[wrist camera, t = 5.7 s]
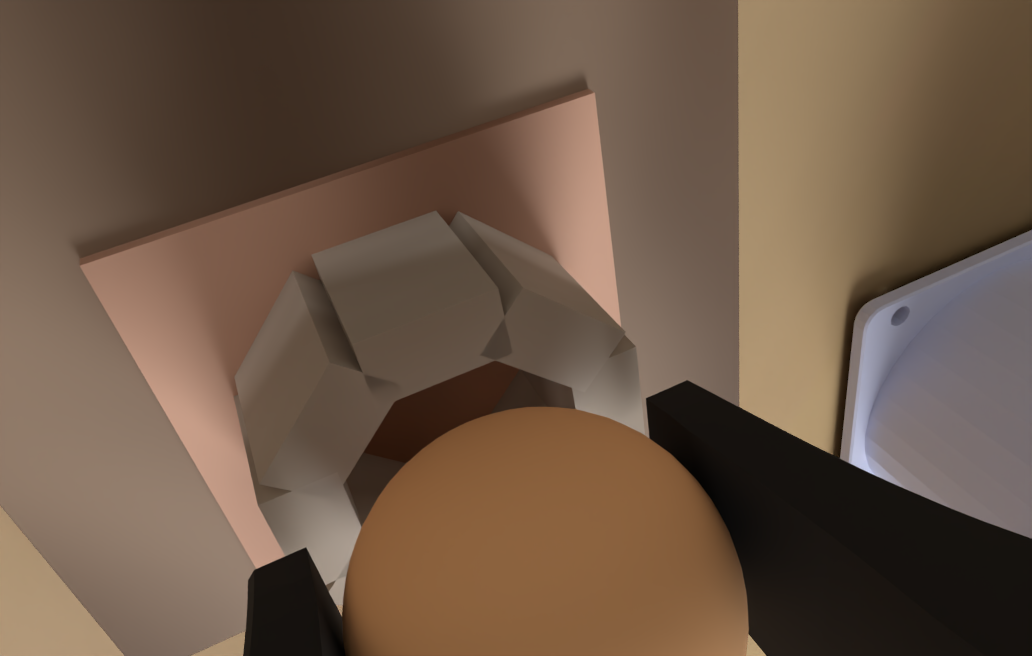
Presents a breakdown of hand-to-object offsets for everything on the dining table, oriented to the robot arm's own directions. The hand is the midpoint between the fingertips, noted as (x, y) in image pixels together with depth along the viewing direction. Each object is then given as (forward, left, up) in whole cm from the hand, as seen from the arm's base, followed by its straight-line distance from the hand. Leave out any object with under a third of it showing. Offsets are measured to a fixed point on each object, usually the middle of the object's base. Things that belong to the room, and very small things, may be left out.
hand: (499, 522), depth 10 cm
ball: (0, 0, +1) cm, 1 cm away
